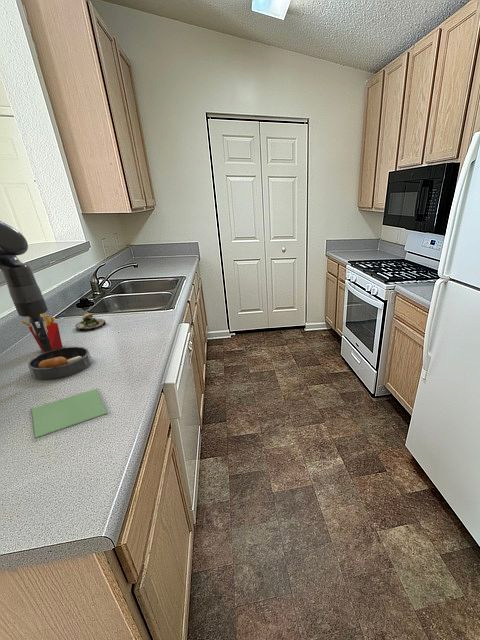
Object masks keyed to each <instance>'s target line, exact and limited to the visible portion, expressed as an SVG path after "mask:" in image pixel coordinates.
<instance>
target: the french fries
mask: <svg viewBox="0 0 480 640" xmlns="http://www.w3.org/2000/svg"><path fill="white" fill-rule="evenodd" d="M40 316H41V317H44V319H45V322H46V328H47V330H48V333H47V335H48V337H49V340H50V344H51V347H52V350H56V349H60V348H63V341H62V338H61V334H60V329H59V323H58V322H55V319H56V318H55V317H54V315H50V318H49V317H48V315H47V314H44V313H43V314H40ZM27 318H28V320H27V321H28V322H26V321H24V320H20V323H21V324H23V325H26V326H28V329H29V331H30V332H31V334H32V336H33V339H34V340H35V342H36V344H37V345H38V347H39V349H40V350H41V351H42V352H45V351H44V350H43V347H42V345H41V342H40V341H39V340H38V337H37V335H35V333H34V331H33V328H32V327H31V326H30V323H29V319H31V317H29V316H27ZM46 352H48V351H46Z"/></svg>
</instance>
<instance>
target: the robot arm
mask: <svg viewBox="0 0 480 640" xmlns="http://www.w3.org/2000/svg"><path fill="white" fill-rule="evenodd" d="M28 249H29V244H28V241H27V238H25V236H24V235H23V233H21V232H20V231H18V230H17V229H16V228H14V227H13V226H11V225H9V224H7V223H5V222H3V221H2V220H0V272H1V273H2V276H3V279H4V280H5V284H6V286H7V288H8V289H7V290H8V293H9V296H10V298H11V301H12V303H13V305H14V307H15V309H16V311H17V312H16V313H17V314H18V316H20V317H23V318H24V317H25V318H28V320H29V321H28V324H30V326H31V327H32V328H33V331H34V333H35V335H37V337H38V340H39V341H40V342H41V345H42V347H43V350H44V351H43V352H44V353H45V352H47V351H51V350H52V347H51V344H50V340H49V337H48V335H47V333H48V330H47V328H46V322H47V321H46V322H45V320H46V319H44V318H45V317H44V316H43V317H41V316H40V314H43V315H44V314H45V313H47V312H48V310H49V309H48V305H47V303H46V300H45V299H44V295H43V293H42V291H41V288H40V287H39V285H38V283H37V281H36V277H35V274H34V272H33V269H32V268H31V266H30V265H29V264H28V263H25V262H23V261H21V260H20V259H19V258H18V256H21V255H24V254H25V253H26V252H28ZM28 316H29V317H31V319H29V317H28ZM30 326H29V327H30Z"/></svg>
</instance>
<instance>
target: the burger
mask: <svg viewBox="0 0 480 640" xmlns="http://www.w3.org/2000/svg"><path fill="white" fill-rule="evenodd" d="M103 324H105V325H106V324H107V321H106V320H105V319H102V318H95V317H94V315H93V314H92V313H84V314H83V315H82V317H81V321H79V322H78V323H76V324H75V326H74V327H75V330H76V331H78V332H80V331H81V330H90V329H95V328H99V327H100V326H102V325H103Z"/></svg>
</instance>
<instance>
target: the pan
mask: <svg viewBox="0 0 480 640" xmlns="http://www.w3.org/2000/svg"><path fill="white" fill-rule="evenodd" d="M77 356H81V357H82V358H81V359H79V360H77V361H75V362H72V363H69V364H67V365H63V366H59V367H53V368H39V363H40V362H41V361H43V360H47V359H51V358H55V357H64V358H66V359H67V360H68V359H71V358H74V357H77ZM92 362H93V361H92V357H91V354H90V351H89V349H88V348H85V347H83V346H66V347H61V348H59V349H56V350H51V351H48V352H47V351H46V352H45V351H44V352H43V353H41V354H38V355H36V356H35V357H33V358H31V359H30V360H29V362H28V363H27V366H28V369H29V371H30V373H31V376H32V377H33V378H34V379H35V380H39V381H51V380H59V379H64V378H68V377H71V376H74V375H77V374H79V373H81V372H83V371H84V370H86V369H87V368H89V367H90V366H91V365H92Z"/></svg>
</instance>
